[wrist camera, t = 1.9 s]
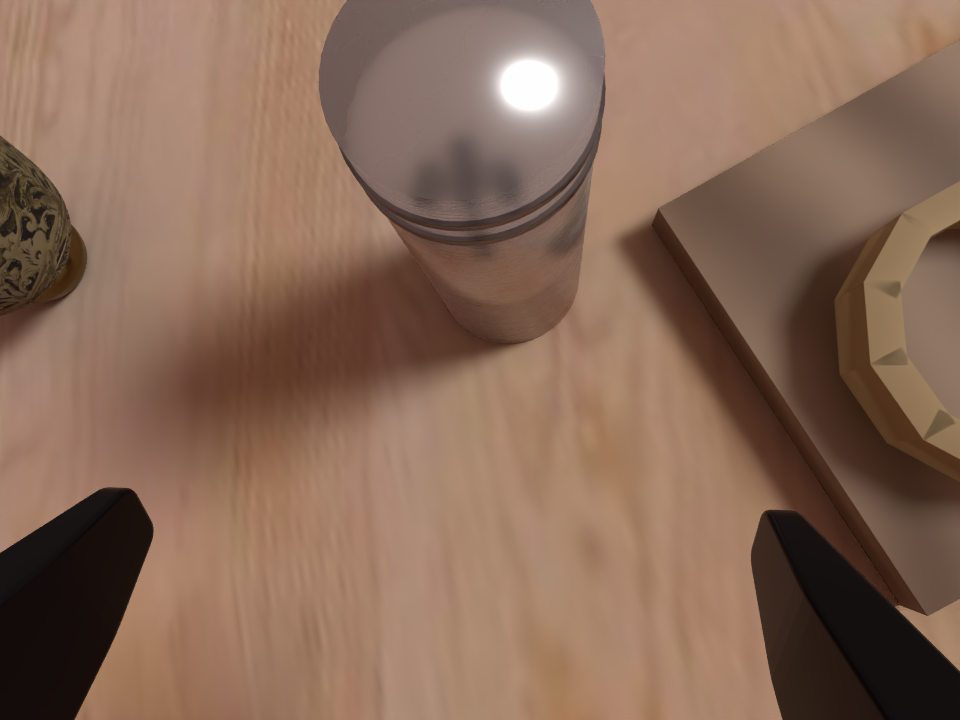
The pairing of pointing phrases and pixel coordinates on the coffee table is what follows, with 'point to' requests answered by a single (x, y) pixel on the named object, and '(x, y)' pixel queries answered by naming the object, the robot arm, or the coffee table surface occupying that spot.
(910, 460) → the ring seat
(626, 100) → the coffee table surface
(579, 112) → the silver metal cylinder
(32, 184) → the cup
